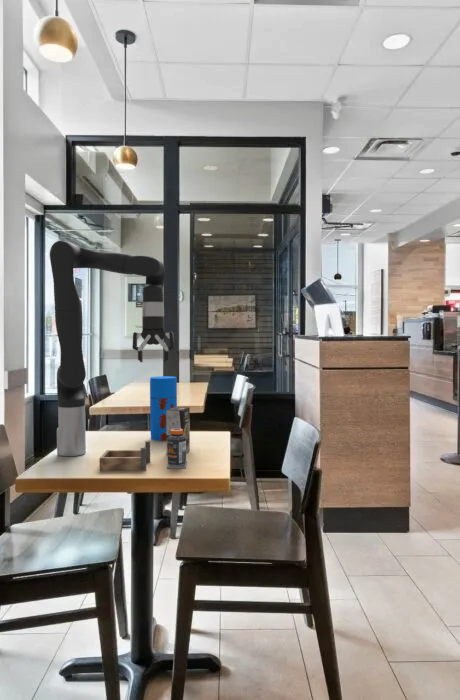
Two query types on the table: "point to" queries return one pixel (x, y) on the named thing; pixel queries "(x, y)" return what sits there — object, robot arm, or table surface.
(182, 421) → the coffee box
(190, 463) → the table surface
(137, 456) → the wooden u-shaped frame
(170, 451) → the pill bottle
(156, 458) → the table surface
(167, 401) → the thermos
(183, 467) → the mat
